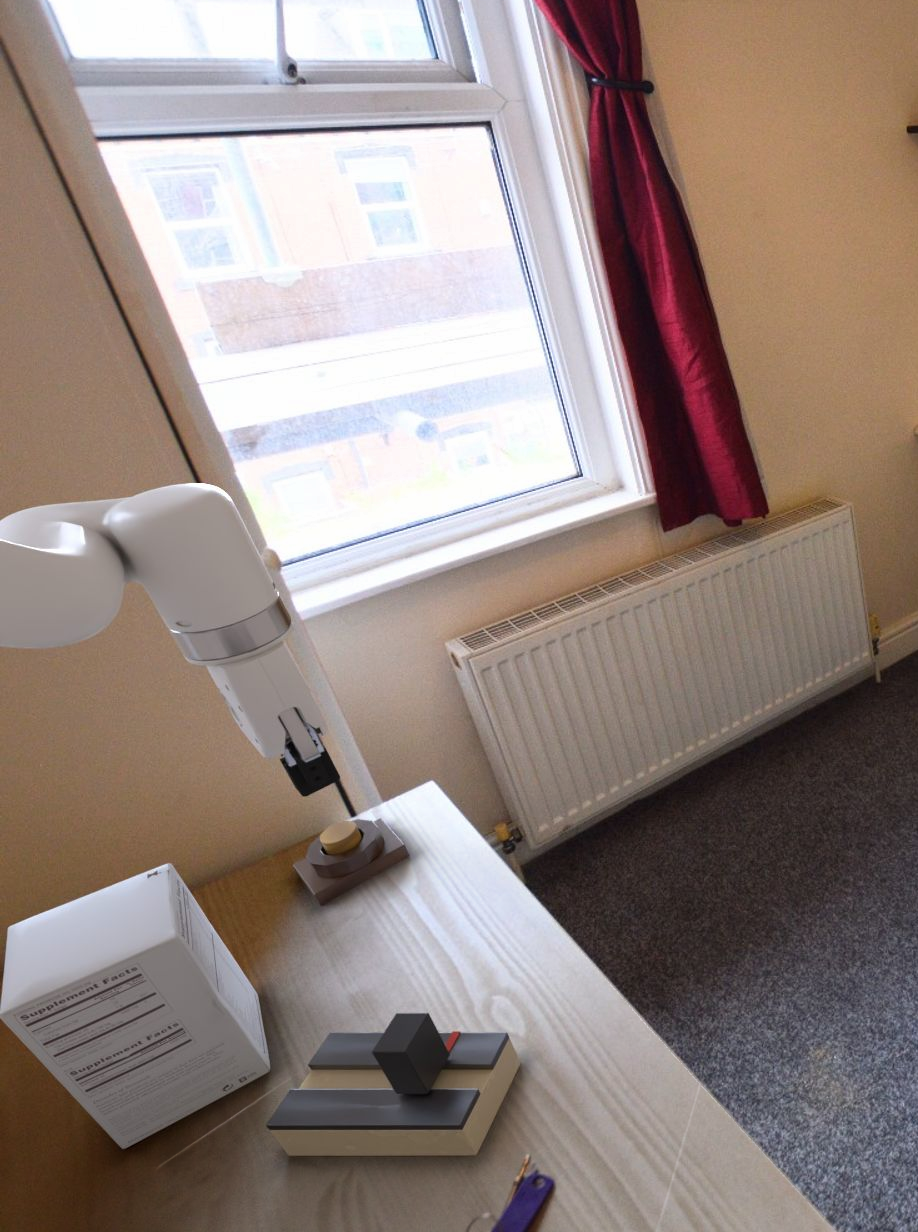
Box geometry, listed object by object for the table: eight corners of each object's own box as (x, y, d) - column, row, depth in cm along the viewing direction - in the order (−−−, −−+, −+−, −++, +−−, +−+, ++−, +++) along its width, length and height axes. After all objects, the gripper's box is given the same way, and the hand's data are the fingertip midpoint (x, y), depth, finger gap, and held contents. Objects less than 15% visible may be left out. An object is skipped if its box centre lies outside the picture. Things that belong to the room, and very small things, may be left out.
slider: (399, 1100, 64) (370, 1052, 61) (422, 1060, 67) (396, 1012, 64) (431, 1100, 64) (404, 1052, 61) (453, 1060, 67) (428, 1012, 64)
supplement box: (118, 1060, 70) (3, 923, 62) (259, 991, 76) (170, 856, 67) (120, 1155, 64) (-8, 1017, 56) (273, 1072, 69) (177, 935, 61)
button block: (320, 906, 83) (306, 881, 82) (298, 876, 87) (284, 851, 85) (410, 856, 89) (398, 831, 87) (386, 828, 92) (374, 804, 90)
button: (332, 860, 84) (326, 848, 84) (321, 846, 86) (314, 833, 85) (366, 842, 86) (360, 829, 86) (355, 828, 88) (348, 816, 87)
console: (288, 1156, 64) (264, 1124, 62) (349, 1063, 70) (329, 1031, 68) (476, 1156, 64) (459, 1124, 62) (521, 1063, 70) (507, 1031, 68)
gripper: (154, 616, 75) (246, 773, 84) (205, 680, 67) (302, 846, 76) (257, 581, 80) (334, 732, 89) (316, 636, 72) (394, 796, 81)
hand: (319, 784), depth 83 cm, fingers closed
